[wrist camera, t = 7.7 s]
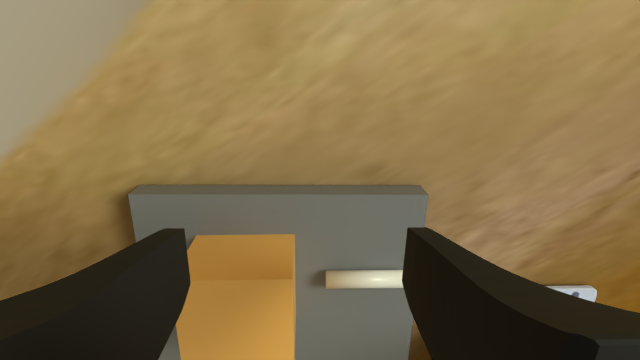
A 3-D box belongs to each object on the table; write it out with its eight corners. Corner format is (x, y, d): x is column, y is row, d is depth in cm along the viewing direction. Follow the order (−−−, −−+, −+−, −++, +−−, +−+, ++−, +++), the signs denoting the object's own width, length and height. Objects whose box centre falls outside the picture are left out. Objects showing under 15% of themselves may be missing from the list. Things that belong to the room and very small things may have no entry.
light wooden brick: (294, 234, 20) (292, 279, 16) (295, 313, 22) (294, 372, 18) (196, 235, 20) (169, 281, 16) (205, 316, 22) (183, 375, 18)
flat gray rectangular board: (420, 185, 21) (449, 218, 17) (401, 348, 25) (421, 407, 21) (140, 184, 21) (97, 219, 16) (165, 352, 25) (136, 415, 20)
